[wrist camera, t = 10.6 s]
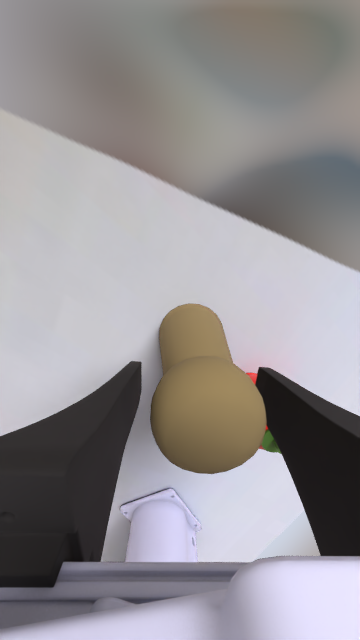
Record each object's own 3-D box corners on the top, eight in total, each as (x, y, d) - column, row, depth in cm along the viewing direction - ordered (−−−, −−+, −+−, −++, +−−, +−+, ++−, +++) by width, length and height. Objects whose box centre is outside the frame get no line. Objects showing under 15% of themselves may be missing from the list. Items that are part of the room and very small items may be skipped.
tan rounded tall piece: (180, 290, 16) (188, 349, 6) (235, 324, 17) (327, 425, 7) (147, 344, 18) (106, 468, 7) (200, 372, 19) (230, 514, 8)
